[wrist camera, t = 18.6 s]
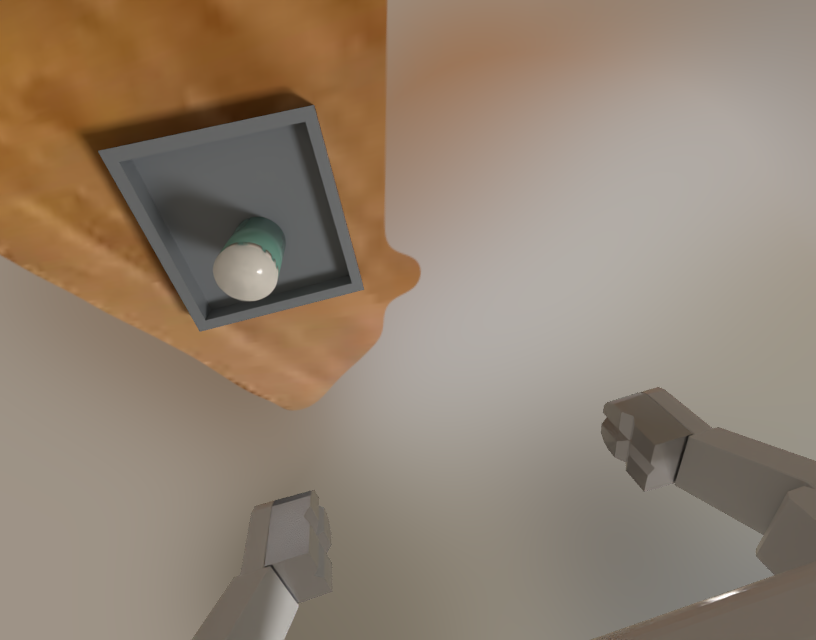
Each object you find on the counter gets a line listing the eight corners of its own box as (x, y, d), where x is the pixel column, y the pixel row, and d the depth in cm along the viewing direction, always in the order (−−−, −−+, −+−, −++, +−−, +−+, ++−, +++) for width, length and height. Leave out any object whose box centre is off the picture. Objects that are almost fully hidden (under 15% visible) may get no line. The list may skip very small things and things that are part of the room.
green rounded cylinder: (225, 223, 42) (201, 253, 33) (275, 211, 42) (264, 238, 34) (246, 268, 45) (229, 307, 36) (292, 257, 45) (286, 292, 37)
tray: (115, 147, 37) (97, 151, 34) (314, 105, 39) (313, 104, 36) (207, 317, 47) (199, 331, 44) (361, 278, 49) (364, 289, 46)
